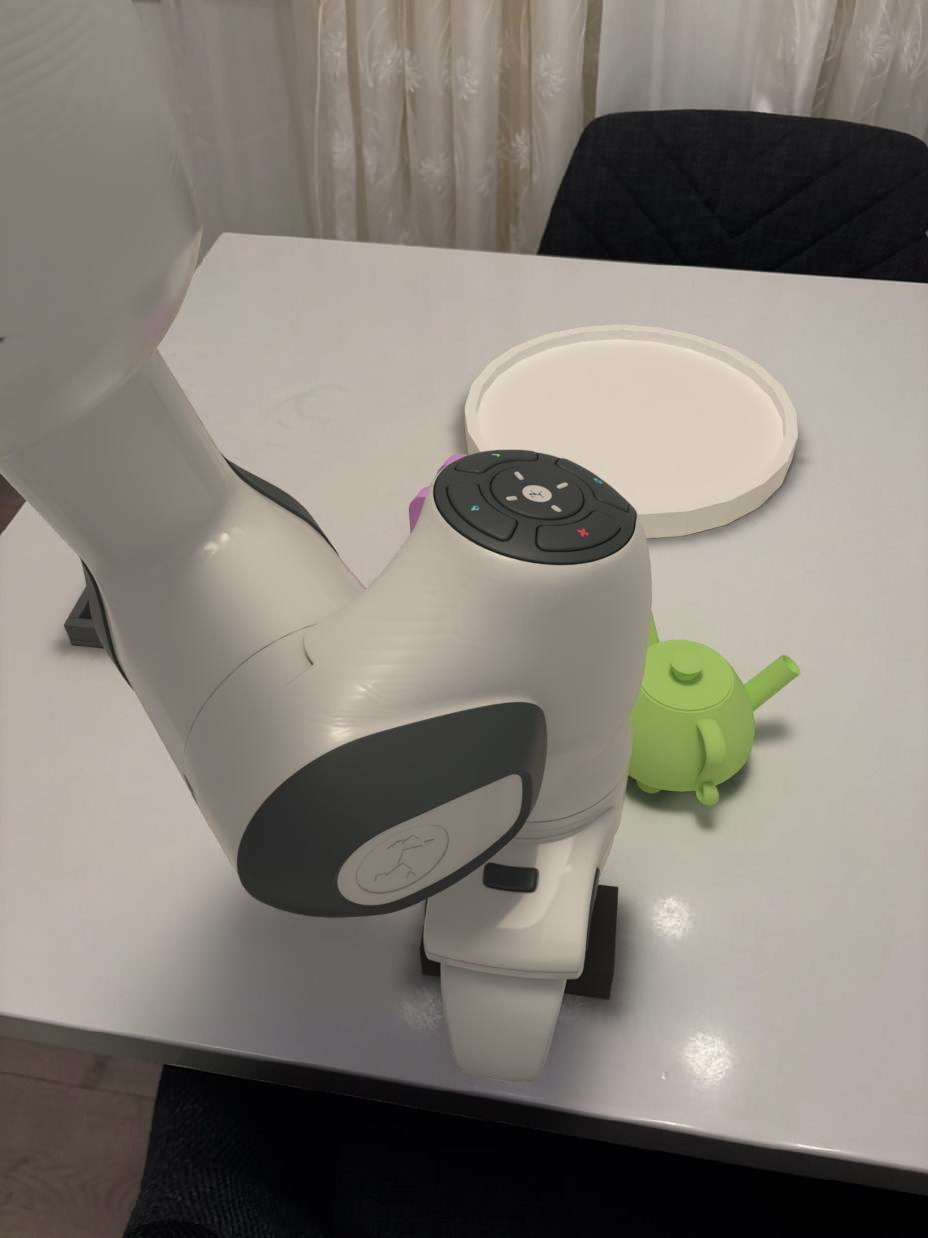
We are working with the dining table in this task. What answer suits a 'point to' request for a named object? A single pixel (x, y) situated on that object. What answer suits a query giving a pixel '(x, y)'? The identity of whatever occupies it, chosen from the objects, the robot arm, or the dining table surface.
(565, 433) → the plate
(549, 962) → the robot arm
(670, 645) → the teapot
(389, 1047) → the dining table surface
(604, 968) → the black rectangular block
